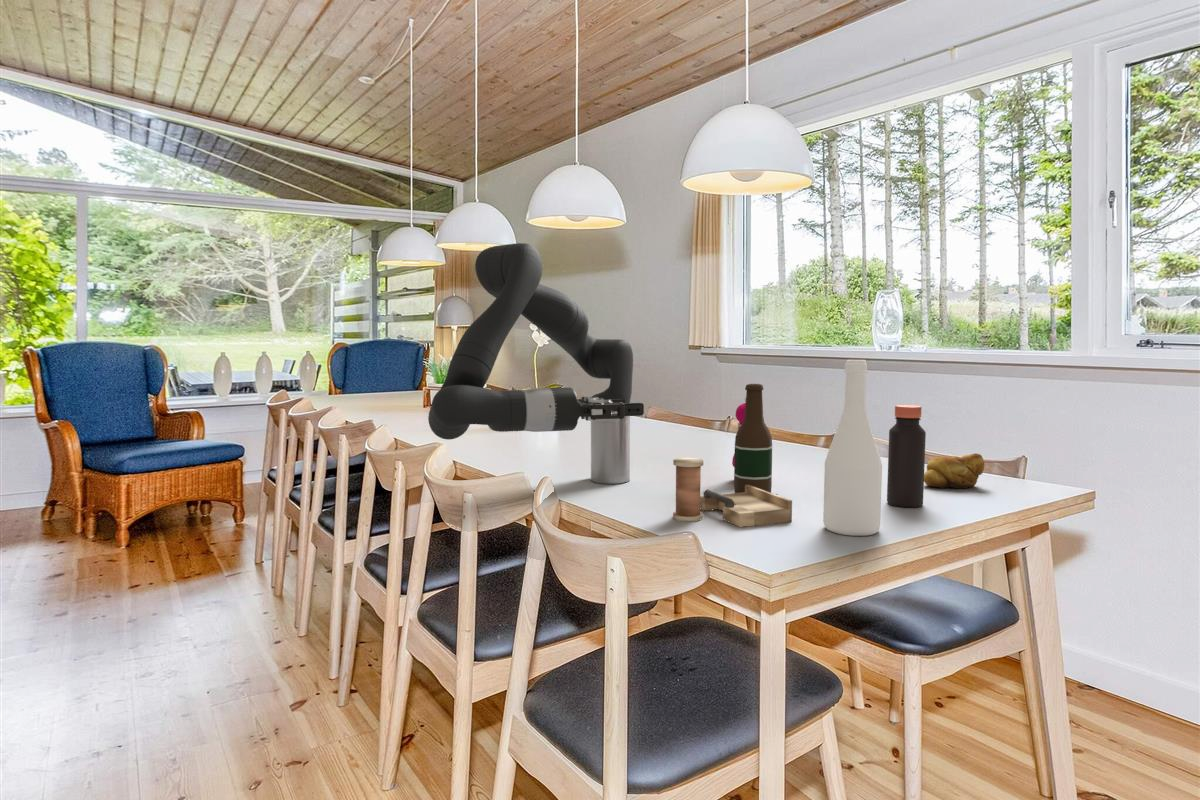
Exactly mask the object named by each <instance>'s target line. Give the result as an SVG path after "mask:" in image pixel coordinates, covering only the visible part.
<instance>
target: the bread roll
mask: <svg viewBox="0 0 1200 800" xmlns="http://www.w3.org/2000/svg"><path fill="white" fill-rule="evenodd" d="M984 470H985V461H984V458H983V456H982V454H980V453H972V454H965V455H962V456H956V455H954V456H936V457H932V458H931V459H930V460H929V461H928V462H927V464H926V472H925V471H924V483H925V485H926V486H930V487H934V488H943V489H945V487H946V488H948V487H950V488H953V487H954V488H953V489H968V487H970V488H973V487H975V485H976V484H977V483H978V479H979V476H981V475H983V474H984Z"/></svg>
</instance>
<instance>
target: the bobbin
mask: <svg viewBox="0 0 1200 800" xmlns="http://www.w3.org/2000/svg"><path fill="white" fill-rule="evenodd" d="M672 461H673V463H672V465H673V466H675V511H673V513H672V518H673V519H674V520H675V519H676V521H678V520H680V522H686V521H693V522H697V521H696V520H700V519H702V518H703V519H704V514H703V512H701V509H700V496H701V483H702V481H701V479H702V478H701V476H702V475H701V473H702V472H701V470H702V469H701V468H702V466H704V459H702V458H696V457H678V458H673V460H672ZM703 519H702V520H703ZM700 521H701V520H700Z"/></svg>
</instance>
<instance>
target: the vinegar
mask: <svg viewBox="0 0 1200 800" xmlns="http://www.w3.org/2000/svg"><path fill="white" fill-rule="evenodd" d="M921 418H922V406H921V405H914V404H913V405H912V404H910V405H909V404H898V405H895V406H894V419H895V420H896V421H895V424H894V425H893V426H892V427H891V428H890V429H889V431H888V451H887V452H888V453H887V455H888V457H887V461H888V462H887V484H886V485H887V486H886V487H887V488H886V502H887V504H889V505H891V506H893V507H899V508H906V507H907V508H908V509H910V508H912V509H914V508H920V507H922V506H923V504H924V488H925V487H924V486H925V485H924V483H925V482H924V474H925V466H926V465H925V464H926V463H925V461H926V460H925V459H926V436H927V434H926V431H925V429H924V428H923V427H922V426H921V425H920V421H921V420H922V419H921ZM907 508H906V509H907Z"/></svg>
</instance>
